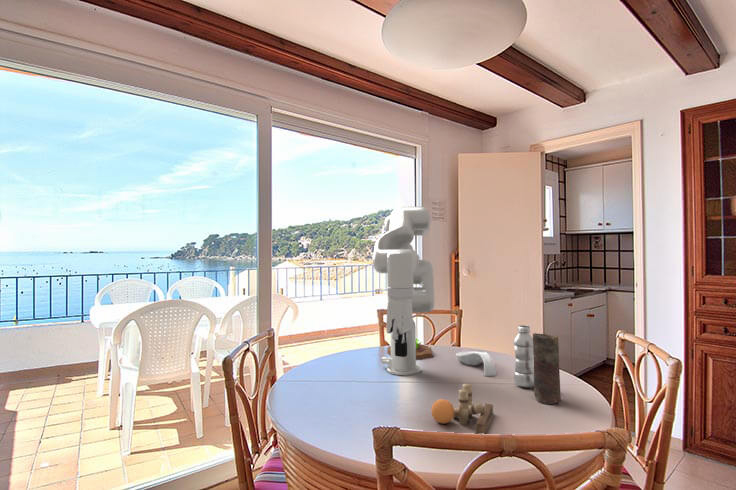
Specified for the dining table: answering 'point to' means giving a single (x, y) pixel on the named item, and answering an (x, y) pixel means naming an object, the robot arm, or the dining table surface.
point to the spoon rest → (478, 361)
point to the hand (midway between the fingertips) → (401, 355)
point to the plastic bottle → (524, 357)
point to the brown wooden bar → (484, 419)
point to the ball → (442, 411)
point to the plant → (419, 351)
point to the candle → (546, 368)
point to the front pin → (471, 410)
